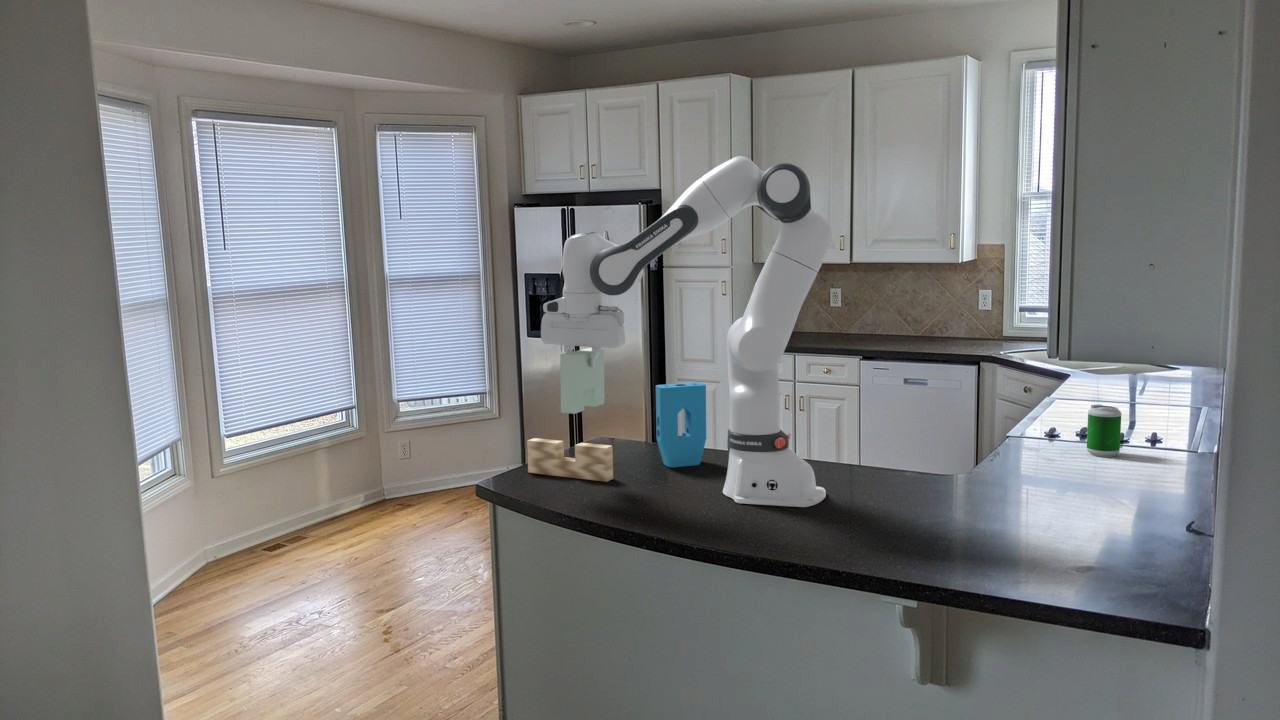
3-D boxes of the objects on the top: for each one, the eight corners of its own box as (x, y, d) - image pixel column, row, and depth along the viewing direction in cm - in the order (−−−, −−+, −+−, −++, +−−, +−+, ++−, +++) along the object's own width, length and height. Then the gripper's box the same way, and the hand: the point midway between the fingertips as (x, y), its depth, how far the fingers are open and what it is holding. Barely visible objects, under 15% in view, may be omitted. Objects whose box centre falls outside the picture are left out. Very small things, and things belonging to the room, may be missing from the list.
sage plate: (604, 403, 223) (604, 348, 221) (574, 413, 210) (574, 355, 208) (591, 402, 224) (590, 347, 222) (560, 412, 212) (560, 354, 210)
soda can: (1123, 458, 236) (1125, 410, 234) (1090, 457, 238) (1092, 410, 236) (1114, 451, 243) (1116, 405, 242) (1082, 450, 245) (1085, 404, 243)
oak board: (613, 478, 226) (612, 445, 224) (606, 481, 223) (606, 448, 222) (534, 469, 235) (533, 438, 234) (528, 472, 233) (527, 440, 232)
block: (662, 468, 235) (660, 388, 232) (655, 463, 239) (654, 385, 237) (707, 464, 238) (707, 385, 235) (700, 459, 243) (700, 382, 240)
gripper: (630, 305, 212) (630, 367, 214) (551, 302, 221) (552, 361, 223) (617, 307, 207) (617, 370, 209) (536, 304, 216) (537, 364, 218)
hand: (582, 365), depth 216 cm, fingers closed on sage plate, 3 cm apart
